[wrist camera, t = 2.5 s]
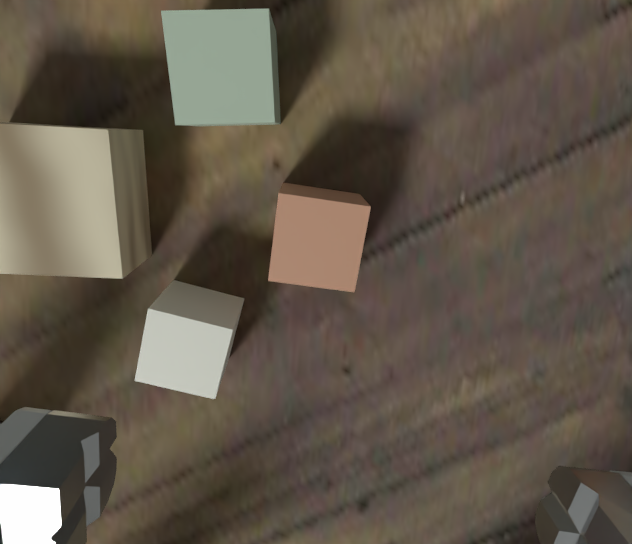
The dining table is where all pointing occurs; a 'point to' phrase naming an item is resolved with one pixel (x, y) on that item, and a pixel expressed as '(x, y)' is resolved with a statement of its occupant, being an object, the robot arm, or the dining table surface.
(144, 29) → the dining table surface
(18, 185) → the maple block
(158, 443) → the dining table surface
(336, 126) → the dining table surface
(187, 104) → the sage block
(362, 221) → the terracotta block
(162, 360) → the cream block
